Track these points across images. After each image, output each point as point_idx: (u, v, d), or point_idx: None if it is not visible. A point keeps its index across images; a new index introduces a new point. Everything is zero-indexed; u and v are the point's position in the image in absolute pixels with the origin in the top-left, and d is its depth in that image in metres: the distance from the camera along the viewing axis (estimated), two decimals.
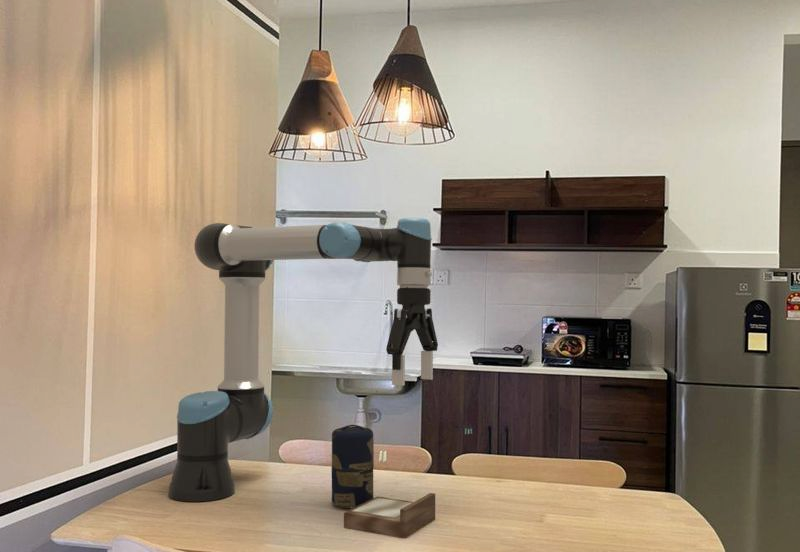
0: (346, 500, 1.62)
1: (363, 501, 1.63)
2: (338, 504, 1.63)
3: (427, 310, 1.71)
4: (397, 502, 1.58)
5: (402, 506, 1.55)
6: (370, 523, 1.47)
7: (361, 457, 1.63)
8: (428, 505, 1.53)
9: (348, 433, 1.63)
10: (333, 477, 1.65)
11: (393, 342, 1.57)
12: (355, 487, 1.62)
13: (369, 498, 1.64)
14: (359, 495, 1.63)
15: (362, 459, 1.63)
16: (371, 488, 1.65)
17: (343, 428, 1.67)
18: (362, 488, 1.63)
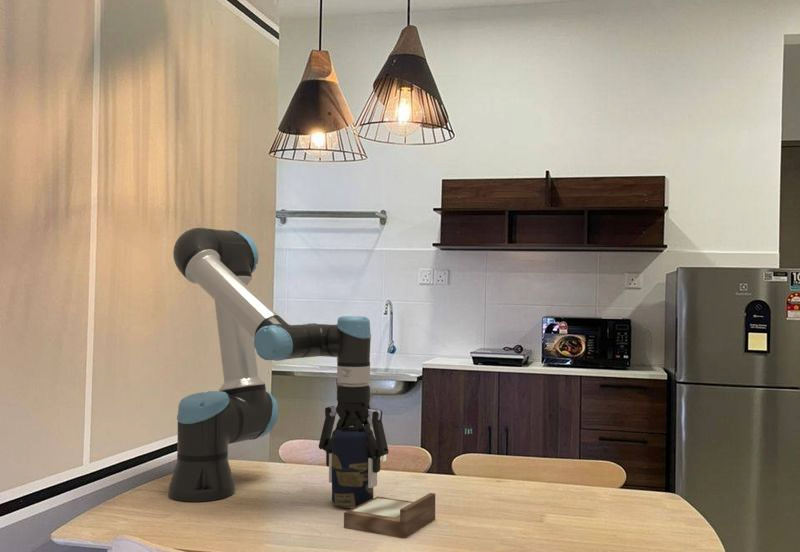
0: (346, 500, 1.62)
1: (363, 501, 1.63)
2: (338, 504, 1.63)
3: None
4: (397, 502, 1.58)
5: (402, 506, 1.55)
6: (370, 523, 1.47)
7: (361, 457, 1.63)
8: (428, 505, 1.53)
9: (348, 433, 1.63)
10: (333, 477, 1.65)
11: None
12: (355, 487, 1.62)
13: (369, 498, 1.64)
14: (359, 495, 1.63)
15: (362, 459, 1.63)
16: (371, 488, 1.65)
17: (343, 428, 1.67)
18: (362, 488, 1.63)
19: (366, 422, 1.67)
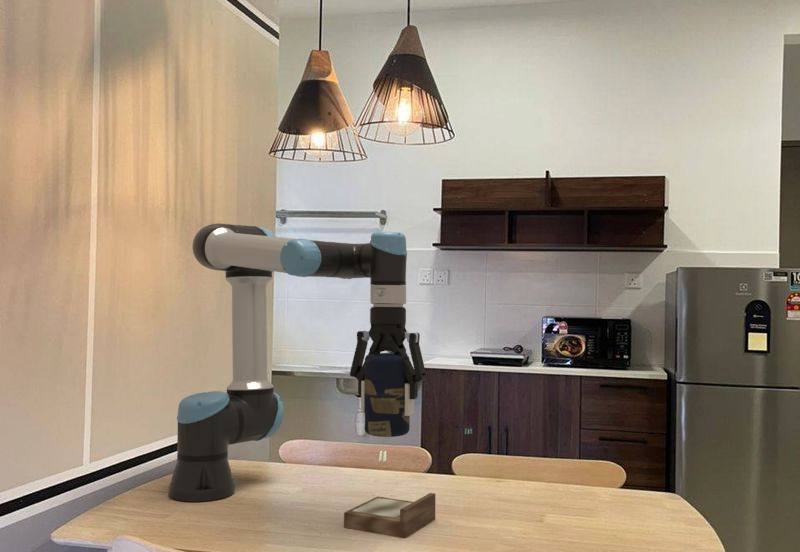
0: (381, 429, 1.50)
1: (400, 429, 1.51)
2: (372, 433, 1.51)
3: None
4: (397, 502, 1.58)
5: (402, 506, 1.55)
6: (370, 523, 1.47)
7: (397, 382, 1.51)
8: (428, 505, 1.53)
9: (383, 356, 1.51)
10: (367, 404, 1.52)
11: None
12: (391, 414, 1.50)
13: (406, 427, 1.52)
14: (396, 423, 1.50)
15: (399, 385, 1.51)
16: (407, 416, 1.53)
17: (377, 353, 1.55)
18: (398, 416, 1.50)
19: (402, 346, 1.55)
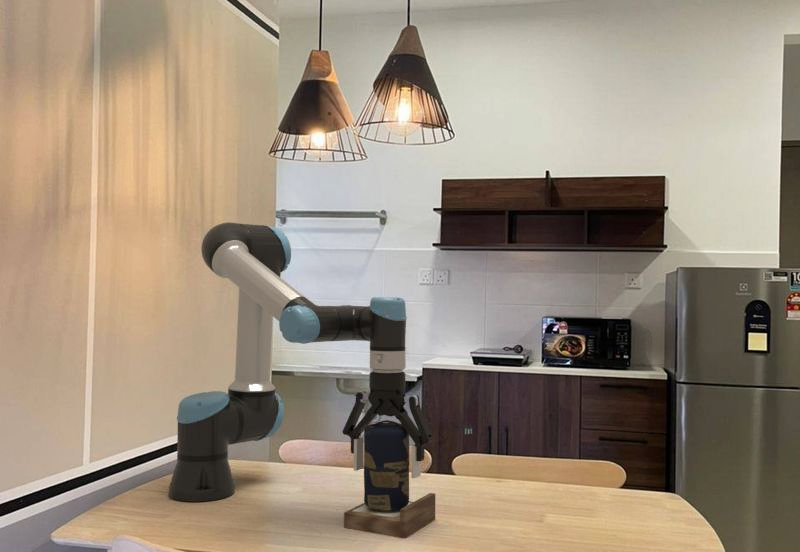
0: (381, 503, 1.49)
1: (399, 503, 1.50)
2: (372, 506, 1.50)
3: None
4: None
5: None
6: (370, 523, 1.47)
7: (397, 455, 1.50)
8: (428, 505, 1.53)
9: (382, 429, 1.50)
10: (366, 477, 1.52)
11: None
12: (391, 488, 1.49)
13: (405, 500, 1.51)
14: (395, 497, 1.50)
15: (398, 458, 1.50)
16: (407, 489, 1.52)
17: (376, 424, 1.54)
18: (398, 489, 1.50)
19: (403, 410, 1.54)
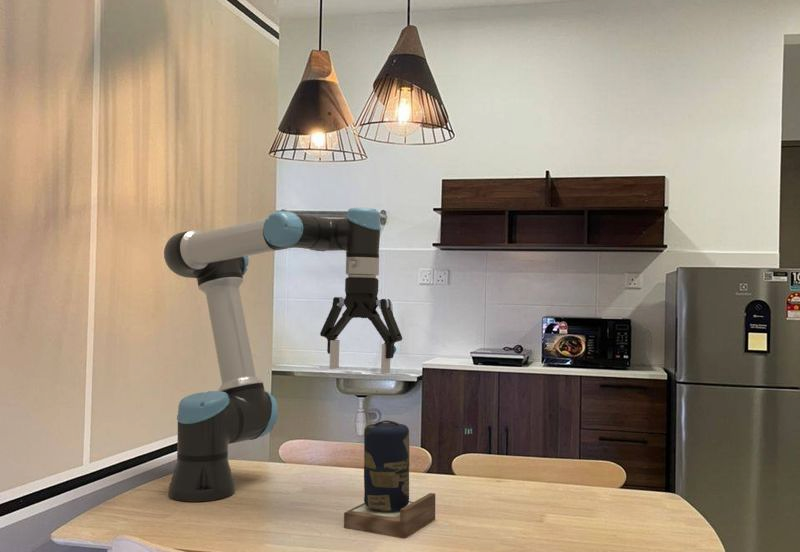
0: (381, 503, 1.49)
1: (399, 503, 1.50)
2: (372, 506, 1.50)
3: None
4: None
5: None
6: (370, 523, 1.47)
7: (397, 455, 1.50)
8: (428, 505, 1.53)
9: (382, 429, 1.50)
10: (366, 477, 1.52)
11: None
12: (391, 488, 1.49)
13: (405, 500, 1.51)
14: (395, 497, 1.50)
15: (398, 458, 1.50)
16: (407, 489, 1.52)
17: (376, 424, 1.54)
18: (398, 489, 1.50)
19: (375, 313, 1.66)
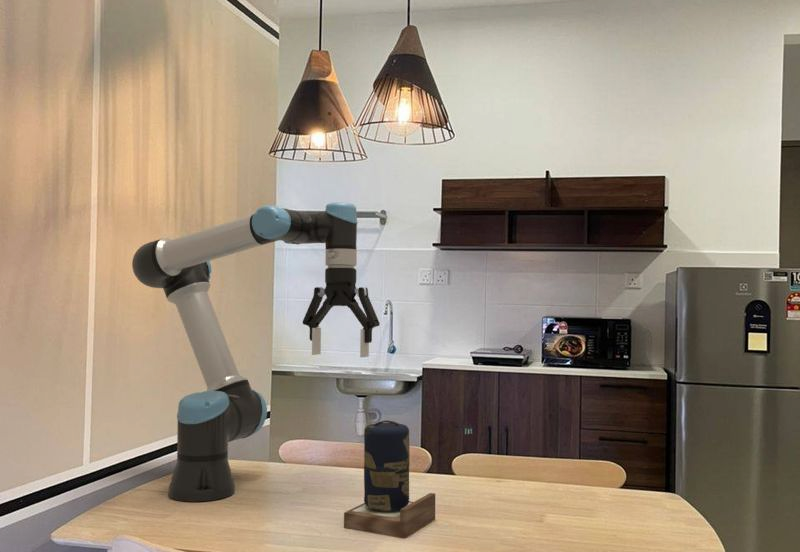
0: (381, 503, 1.49)
1: (399, 503, 1.50)
2: (372, 506, 1.50)
3: None
4: None
5: None
6: (370, 523, 1.47)
7: (397, 455, 1.50)
8: (428, 505, 1.53)
9: (383, 429, 1.50)
10: (366, 477, 1.52)
11: None
12: (391, 488, 1.49)
13: (405, 500, 1.51)
14: (395, 497, 1.50)
15: (398, 458, 1.50)
16: (407, 489, 1.52)
17: (376, 424, 1.54)
18: (398, 489, 1.50)
19: (354, 301, 1.78)
